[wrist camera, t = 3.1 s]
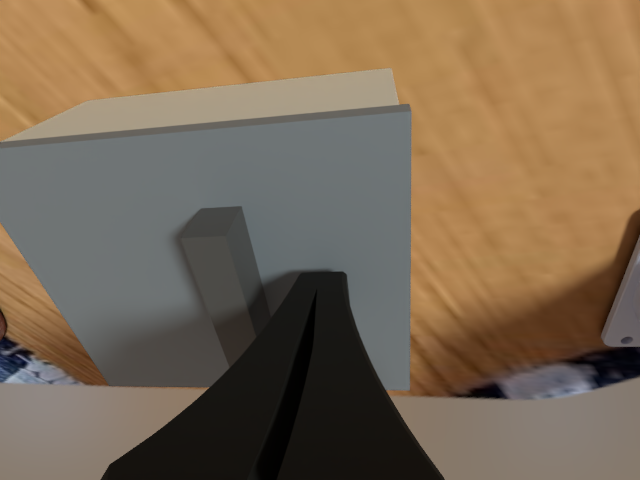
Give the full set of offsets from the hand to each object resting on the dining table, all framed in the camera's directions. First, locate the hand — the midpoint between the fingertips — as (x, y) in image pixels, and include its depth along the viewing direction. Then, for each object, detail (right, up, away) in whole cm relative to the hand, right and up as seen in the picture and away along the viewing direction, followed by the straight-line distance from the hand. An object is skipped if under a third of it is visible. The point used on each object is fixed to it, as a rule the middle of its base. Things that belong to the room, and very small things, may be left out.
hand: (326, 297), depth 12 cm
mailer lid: (-4, 0, +2) cm, 4 cm away
